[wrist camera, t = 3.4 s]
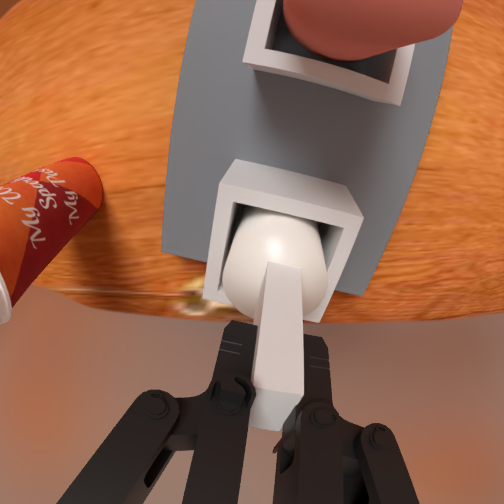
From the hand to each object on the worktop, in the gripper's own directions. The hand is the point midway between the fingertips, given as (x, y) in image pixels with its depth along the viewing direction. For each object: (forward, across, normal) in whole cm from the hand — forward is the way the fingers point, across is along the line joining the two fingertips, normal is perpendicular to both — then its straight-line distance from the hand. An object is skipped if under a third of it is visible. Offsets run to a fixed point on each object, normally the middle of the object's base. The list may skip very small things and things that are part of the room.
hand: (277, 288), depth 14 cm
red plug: (+3, 0, +13) cm, 13 cm away
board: (+10, 0, +6) cm, 12 cm away
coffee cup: (+10, -18, -2) cm, 21 cm away
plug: (+7, 0, 0) cm, 7 cm away
